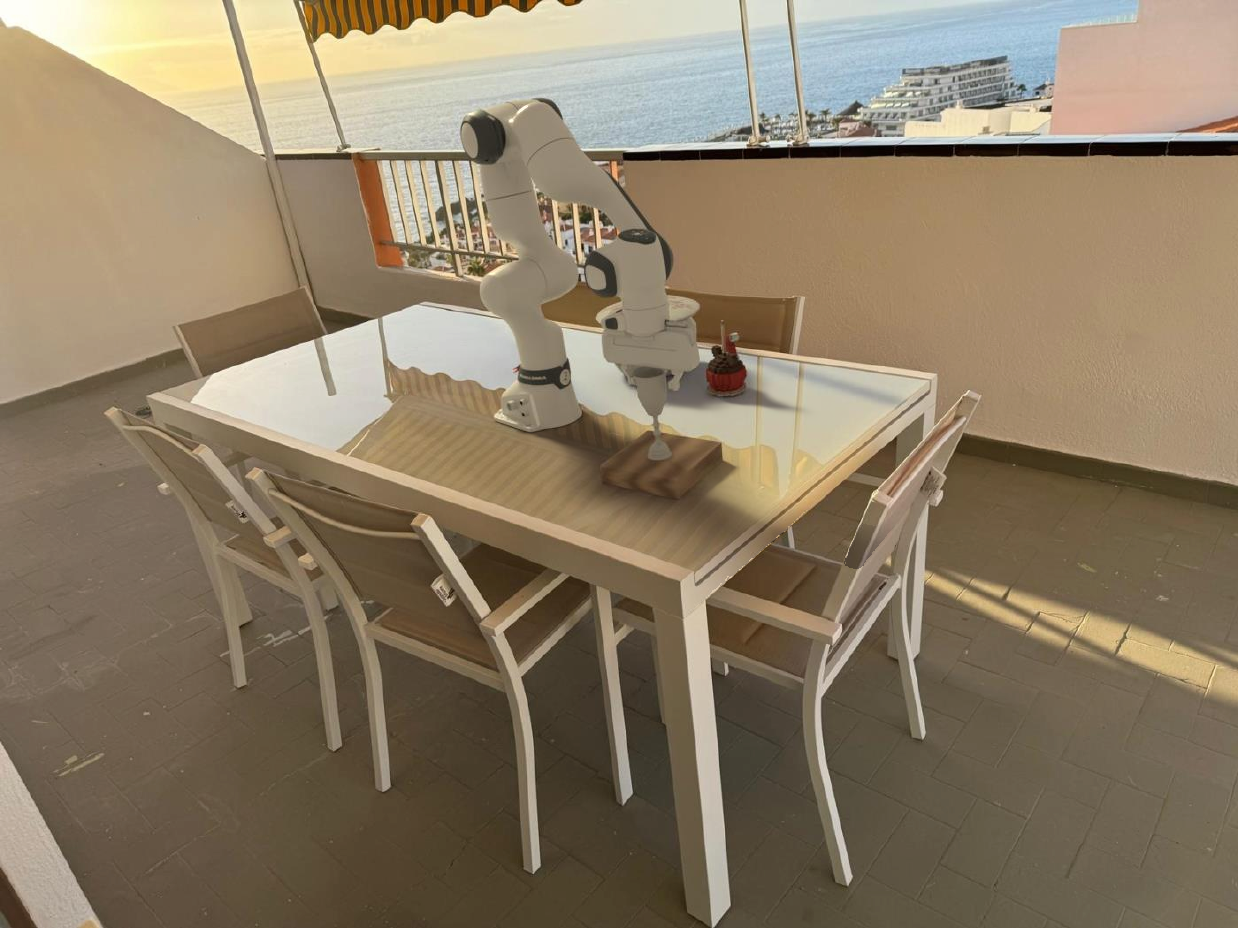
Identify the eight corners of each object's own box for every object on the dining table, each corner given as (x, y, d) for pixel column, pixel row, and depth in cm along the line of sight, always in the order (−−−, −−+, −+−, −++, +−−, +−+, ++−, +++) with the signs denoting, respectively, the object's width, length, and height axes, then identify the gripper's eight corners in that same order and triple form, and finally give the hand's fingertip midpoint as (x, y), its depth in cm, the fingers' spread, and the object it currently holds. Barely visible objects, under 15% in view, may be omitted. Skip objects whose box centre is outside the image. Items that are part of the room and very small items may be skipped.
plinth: (602, 483, 171) (599, 465, 170) (649, 446, 184) (647, 430, 182) (678, 499, 162) (676, 480, 160) (722, 459, 174) (721, 442, 173)
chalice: (674, 462, 167) (665, 377, 159) (640, 463, 168) (629, 379, 161) (678, 446, 173) (669, 363, 166) (645, 447, 175) (635, 365, 167)
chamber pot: (640, 349, 245) (632, 279, 236) (723, 358, 229) (718, 283, 220) (582, 383, 225) (570, 308, 216) (668, 396, 210) (660, 315, 201)
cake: (700, 389, 211) (694, 320, 203) (732, 380, 214) (727, 311, 206) (721, 402, 202) (716, 330, 194) (754, 392, 205) (751, 321, 197)
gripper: (702, 317, 155) (708, 387, 161) (612, 310, 166) (620, 376, 173) (685, 327, 151) (691, 399, 157) (593, 320, 162) (602, 387, 168)
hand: (653, 386), depth 165 cm, fingers open, 8 cm apart
